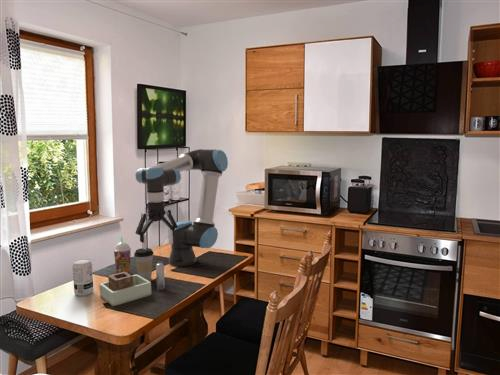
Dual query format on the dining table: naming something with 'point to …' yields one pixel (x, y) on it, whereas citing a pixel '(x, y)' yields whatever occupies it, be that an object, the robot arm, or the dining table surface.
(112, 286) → the socket block
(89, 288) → the supplement can
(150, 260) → the coffee cup
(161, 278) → the steel peg
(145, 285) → the crate
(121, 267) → the smoothie
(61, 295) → the dining table surface
